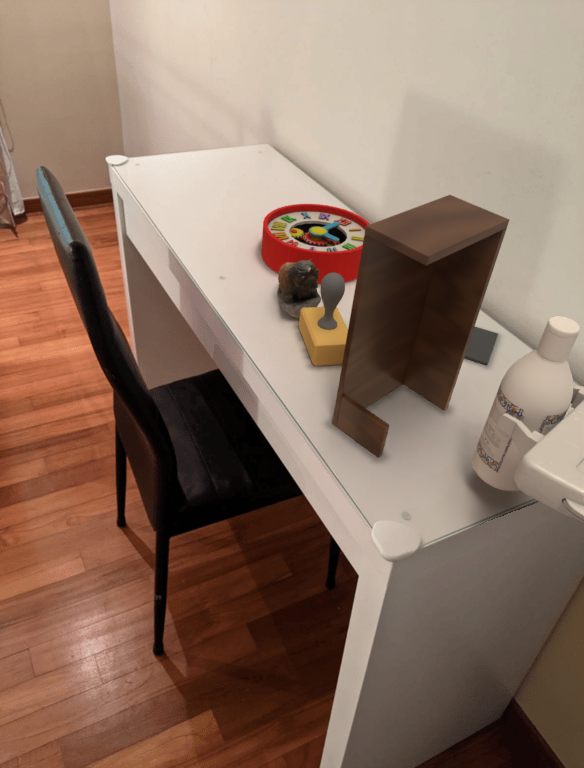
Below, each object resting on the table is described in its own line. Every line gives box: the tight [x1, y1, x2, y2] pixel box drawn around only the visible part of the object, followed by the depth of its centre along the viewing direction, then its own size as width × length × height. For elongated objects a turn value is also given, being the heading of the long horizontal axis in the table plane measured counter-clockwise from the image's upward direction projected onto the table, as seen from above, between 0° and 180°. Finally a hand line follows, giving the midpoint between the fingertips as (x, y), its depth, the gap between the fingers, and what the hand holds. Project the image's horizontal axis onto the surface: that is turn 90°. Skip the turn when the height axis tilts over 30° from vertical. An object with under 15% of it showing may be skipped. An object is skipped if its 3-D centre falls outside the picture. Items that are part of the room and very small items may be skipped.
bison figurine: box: [277, 259, 322, 318], centre depth 96 cm, size 12×7×10 cm, turn 8°
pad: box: [464, 325, 499, 366], centre depth 95 cm, size 9×9×1 cm
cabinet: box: [331, 194, 510, 458], centre depth 71 cm, size 8×15×27 cm, turn 134°
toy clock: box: [260, 203, 371, 285], centre depth 110 cm, size 20×6×20 cm
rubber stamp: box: [298, 273, 348, 367], centre depth 87 cm, size 10×6×12 cm, turn 12°
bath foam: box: [472, 315, 581, 492], centre depth 63 cm, size 7×7×20 cm
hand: (523, 399), depth 64 cm, fingers closed on bath foam, 7 cm apart
